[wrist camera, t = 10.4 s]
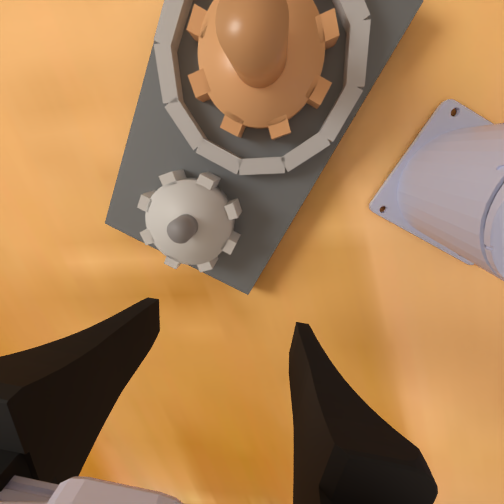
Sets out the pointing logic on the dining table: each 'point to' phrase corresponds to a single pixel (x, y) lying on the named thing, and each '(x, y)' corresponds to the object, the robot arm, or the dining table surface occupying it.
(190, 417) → the dining table surface
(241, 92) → the planet gear
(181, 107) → the carrier plate
